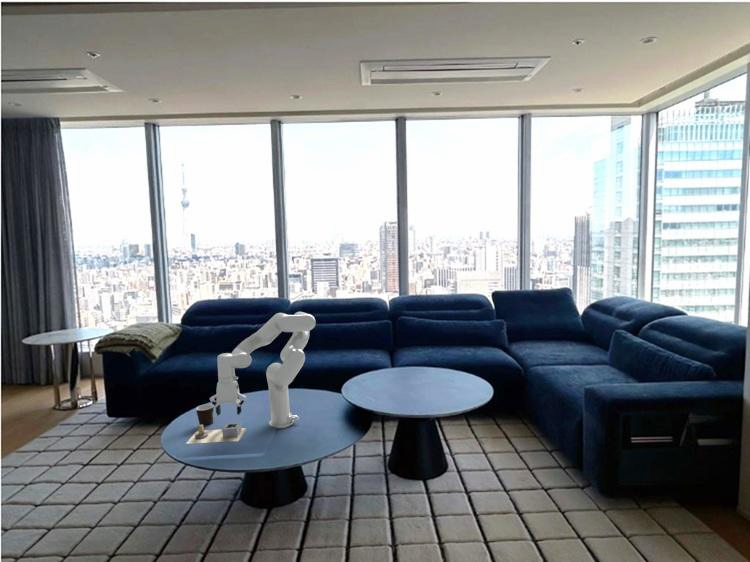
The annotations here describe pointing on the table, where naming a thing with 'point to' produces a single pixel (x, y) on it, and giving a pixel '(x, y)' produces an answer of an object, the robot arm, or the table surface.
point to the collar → (232, 430)
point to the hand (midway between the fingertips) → (228, 414)
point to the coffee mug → (205, 414)
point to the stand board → (211, 436)
